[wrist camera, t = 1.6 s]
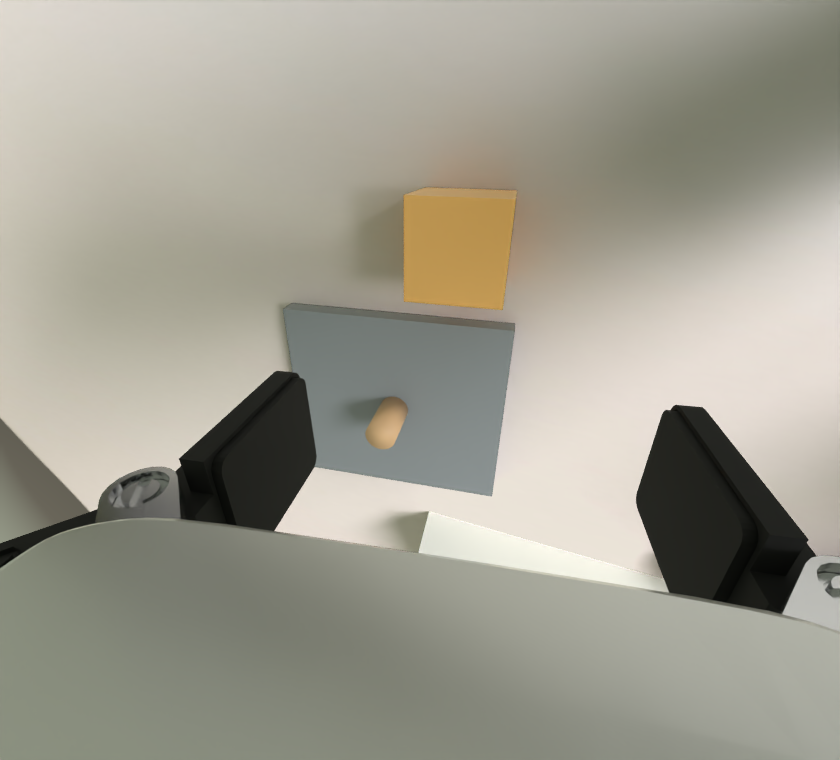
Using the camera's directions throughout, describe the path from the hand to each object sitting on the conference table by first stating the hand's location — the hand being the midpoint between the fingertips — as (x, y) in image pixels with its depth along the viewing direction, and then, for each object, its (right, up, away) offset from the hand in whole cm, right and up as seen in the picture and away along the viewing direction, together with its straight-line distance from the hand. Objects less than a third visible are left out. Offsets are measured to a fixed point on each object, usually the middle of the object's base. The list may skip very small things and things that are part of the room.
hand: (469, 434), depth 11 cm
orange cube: (+2, +11, +17) cm, 21 cm away
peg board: (-3, 0, +25) cm, 25 cm away
